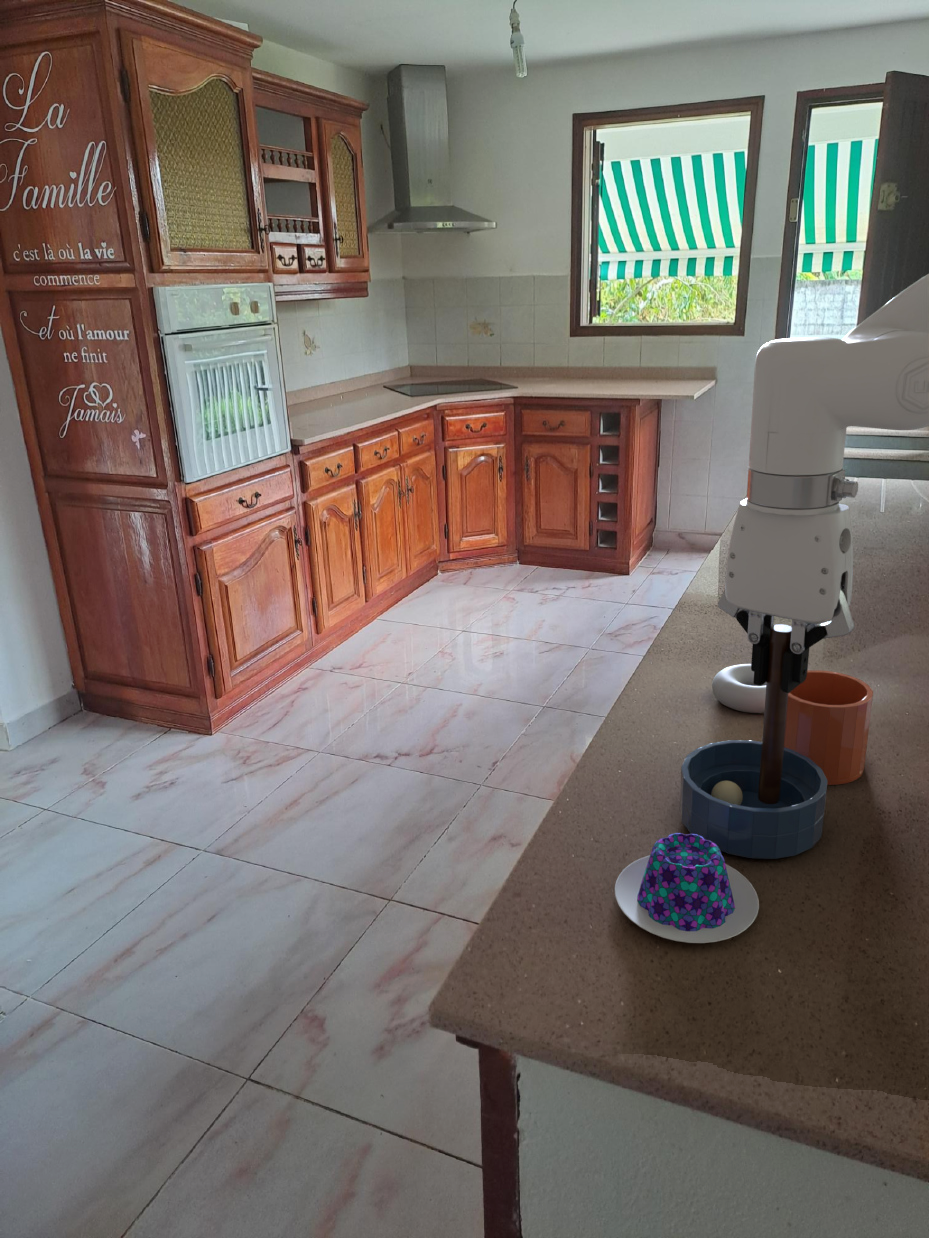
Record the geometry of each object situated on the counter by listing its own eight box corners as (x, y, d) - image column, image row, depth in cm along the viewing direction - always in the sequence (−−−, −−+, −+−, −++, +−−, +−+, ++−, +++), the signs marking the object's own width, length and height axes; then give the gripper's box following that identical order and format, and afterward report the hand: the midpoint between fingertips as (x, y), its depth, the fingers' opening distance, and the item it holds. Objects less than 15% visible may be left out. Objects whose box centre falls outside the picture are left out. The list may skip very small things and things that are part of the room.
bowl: (843, 816, 86) (849, 767, 84) (785, 882, 77) (789, 829, 75) (720, 773, 95) (722, 727, 93) (654, 828, 86) (655, 779, 84)
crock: (876, 758, 96) (886, 683, 93) (843, 794, 90) (852, 715, 87) (794, 734, 102) (801, 663, 99) (758, 766, 96) (763, 691, 93)
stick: (782, 797, 86) (797, 627, 80) (773, 806, 85) (788, 633, 79) (763, 791, 87) (776, 622, 81) (754, 799, 86) (766, 629, 80)
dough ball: (747, 807, 88) (749, 781, 87) (732, 821, 86) (734, 794, 84) (719, 797, 90) (721, 771, 88) (704, 810, 88) (706, 784, 86)
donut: (810, 702, 110) (744, 676, 117) (813, 677, 108) (746, 652, 116) (760, 727, 104) (694, 698, 112) (763, 701, 103) (695, 674, 111)
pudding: (612, 943, 71) (613, 890, 69) (616, 854, 82) (616, 806, 80) (767, 956, 69) (772, 901, 67) (749, 863, 80) (753, 814, 78)
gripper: (906, 490, 73) (880, 691, 79) (728, 472, 83) (718, 651, 90) (872, 509, 68) (848, 722, 74) (687, 487, 78) (680, 676, 84)
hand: (777, 682), depth 82 cm, fingers closed on stick, 2 cm apart
